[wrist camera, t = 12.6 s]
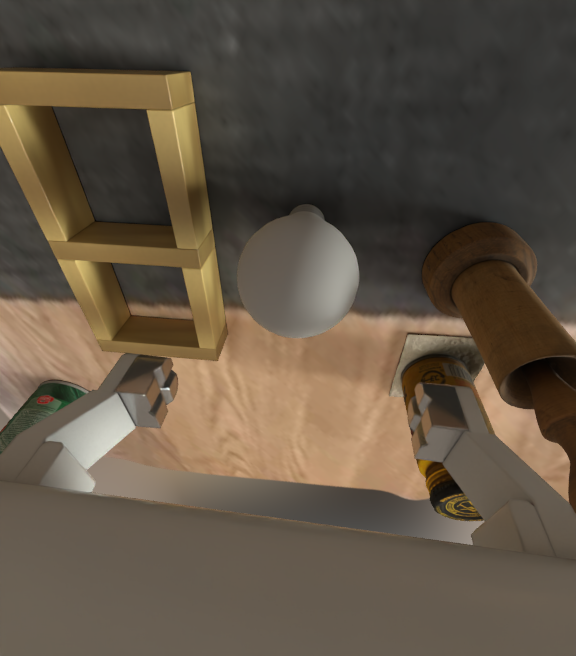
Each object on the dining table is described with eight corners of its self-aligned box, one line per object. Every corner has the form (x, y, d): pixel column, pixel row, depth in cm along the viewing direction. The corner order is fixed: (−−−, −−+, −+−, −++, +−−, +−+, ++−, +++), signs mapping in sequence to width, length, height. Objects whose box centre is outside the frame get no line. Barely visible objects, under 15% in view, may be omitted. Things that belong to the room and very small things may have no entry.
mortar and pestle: (441, 314, 27) (556, 591, 13) (406, 255, 24) (507, 534, 10) (533, 274, 24) (810, 581, 10) (506, 201, 21) (850, 495, 7)
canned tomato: (25, 387, 40) (-57, 476, 31) (68, 373, 37) (-9, 467, 29) (75, 423, 44) (16, 510, 36) (117, 413, 41) (63, 504, 33)
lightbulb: (321, 149, 20) (314, 220, 11) (367, 231, 23) (387, 334, 14) (245, 204, 22) (194, 295, 14) (295, 271, 25) (277, 378, 17)
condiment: (388, 394, 34) (409, 521, 25) (407, 333, 28) (443, 467, 19) (462, 400, 33) (511, 532, 24) (495, 338, 28) (576, 479, 19)
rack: (14, 67, 19) (-39, 69, 16) (190, 71, 18) (165, 74, 15) (121, 325, 31) (102, 351, 29) (227, 334, 31) (217, 361, 28)
